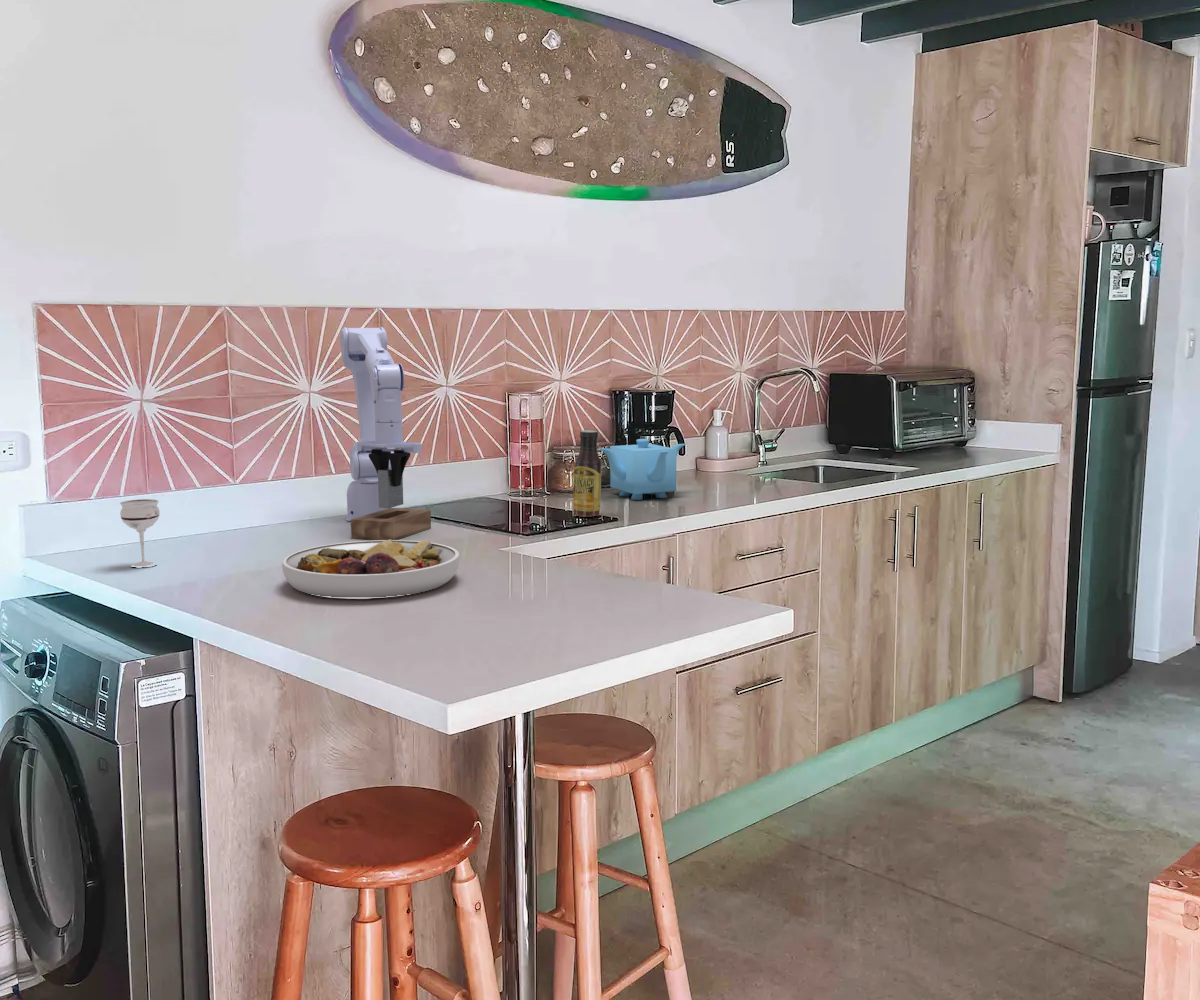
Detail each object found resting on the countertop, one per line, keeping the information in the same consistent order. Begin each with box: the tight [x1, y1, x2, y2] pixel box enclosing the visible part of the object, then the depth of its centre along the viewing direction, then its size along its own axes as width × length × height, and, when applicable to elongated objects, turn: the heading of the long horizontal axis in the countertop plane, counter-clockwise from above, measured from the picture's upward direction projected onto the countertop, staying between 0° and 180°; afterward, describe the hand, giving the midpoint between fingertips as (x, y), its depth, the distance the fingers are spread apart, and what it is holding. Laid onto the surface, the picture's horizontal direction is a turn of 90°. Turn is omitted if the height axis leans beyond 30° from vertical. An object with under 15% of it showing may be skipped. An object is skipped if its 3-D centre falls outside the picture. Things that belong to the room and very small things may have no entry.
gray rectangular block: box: [378, 467, 404, 508], centre depth 245 cm, size 2×6×8 cm, turn 160°
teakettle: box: [598, 438, 687, 501], centre depth 295 cm, size 19×19×15 cm
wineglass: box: [119, 498, 161, 566], centre depth 214 cm, size 7×7×12 cm
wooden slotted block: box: [350, 507, 432, 541], centre depth 246 cm, size 10×16×4 cm, turn 160°
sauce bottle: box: [572, 429, 602, 518], centre depth 264 cm, size 7×6×20 cm
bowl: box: [281, 539, 460, 597], centre depth 200 cm, size 30×30×8 cm
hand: (390, 485), depth 245 cm, fingers closed on gray rectangular block, 2 cm apart
